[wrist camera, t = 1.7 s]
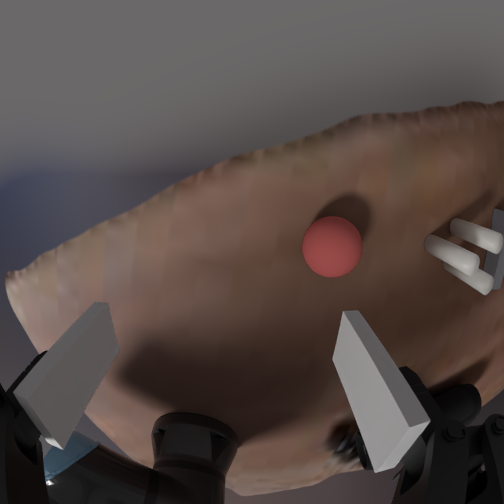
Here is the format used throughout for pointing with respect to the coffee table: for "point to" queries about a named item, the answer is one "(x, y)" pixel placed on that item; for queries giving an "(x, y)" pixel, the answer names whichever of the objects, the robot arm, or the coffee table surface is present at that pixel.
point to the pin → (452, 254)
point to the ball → (332, 246)
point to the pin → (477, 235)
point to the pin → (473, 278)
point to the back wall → (498, 262)
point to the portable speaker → (453, 407)
